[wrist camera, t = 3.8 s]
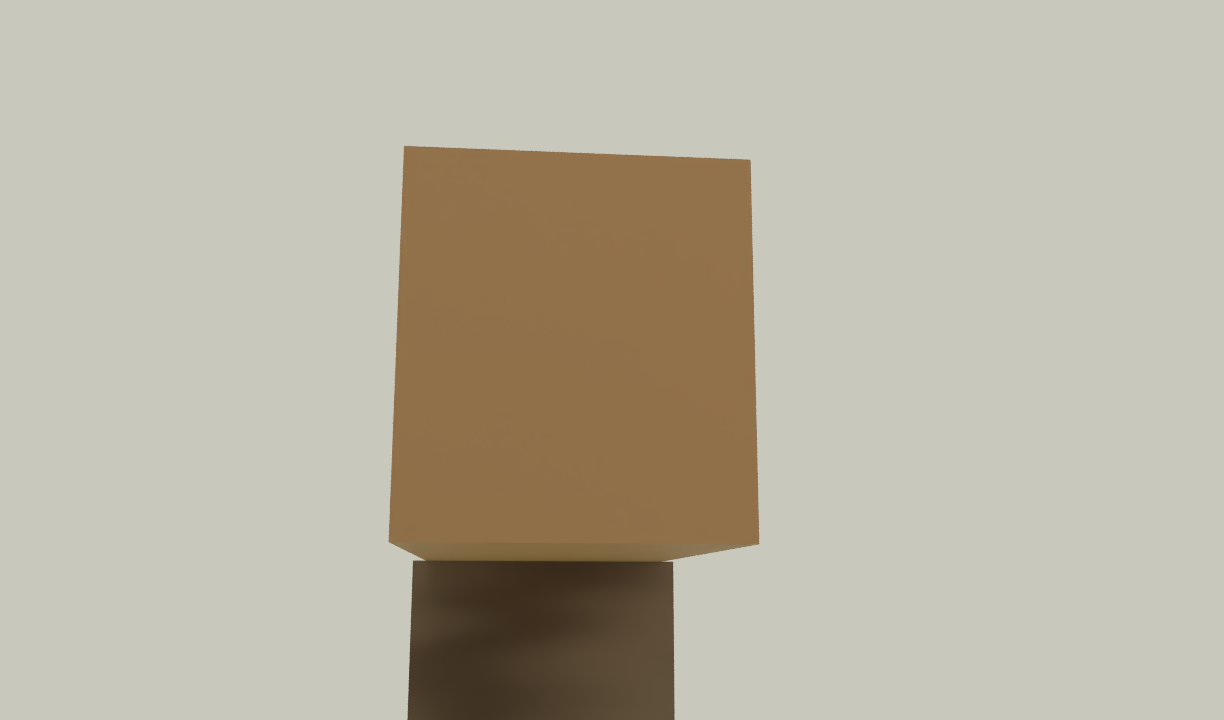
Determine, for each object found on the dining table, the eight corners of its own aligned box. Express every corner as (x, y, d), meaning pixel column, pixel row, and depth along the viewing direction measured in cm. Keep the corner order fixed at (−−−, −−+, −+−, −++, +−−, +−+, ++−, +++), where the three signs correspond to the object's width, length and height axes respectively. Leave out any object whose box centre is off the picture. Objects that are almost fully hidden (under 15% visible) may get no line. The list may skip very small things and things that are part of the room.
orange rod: (389, 541, 14) (404, 146, 15) (449, 572, 35) (454, 409, 36) (758, 544, 14) (750, 159, 15) (597, 572, 36) (598, 411, 37)
